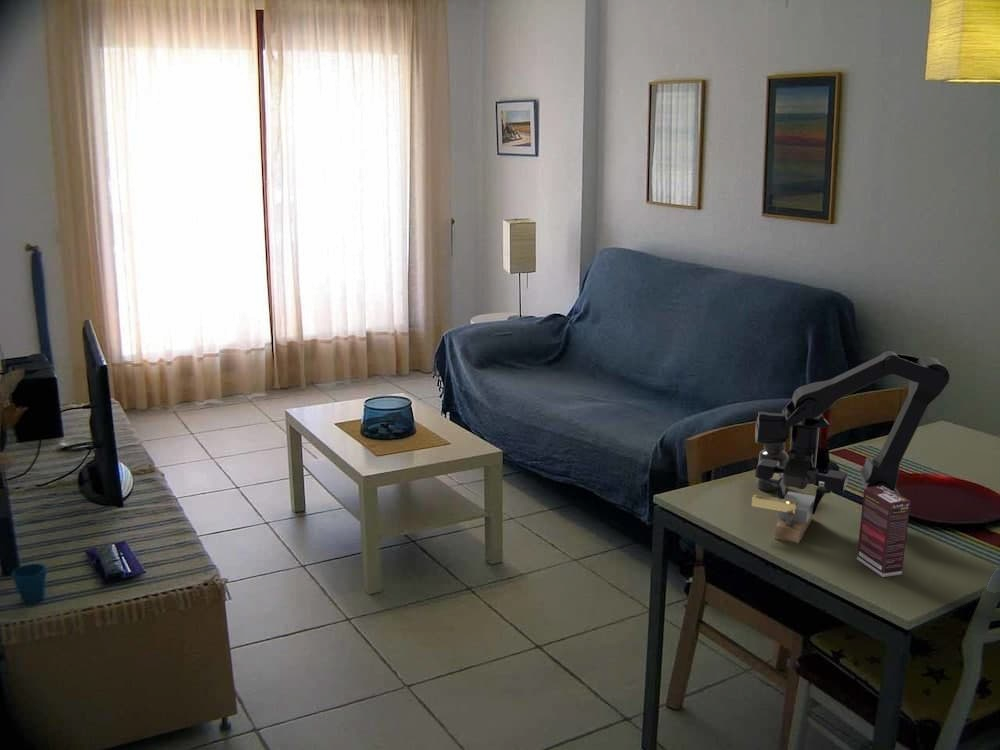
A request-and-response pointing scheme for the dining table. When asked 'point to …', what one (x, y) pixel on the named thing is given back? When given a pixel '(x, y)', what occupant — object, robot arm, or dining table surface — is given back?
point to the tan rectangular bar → (774, 503)
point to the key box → (791, 529)
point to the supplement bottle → (772, 453)
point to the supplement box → (883, 530)
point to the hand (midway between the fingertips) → (798, 511)
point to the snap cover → (799, 507)
